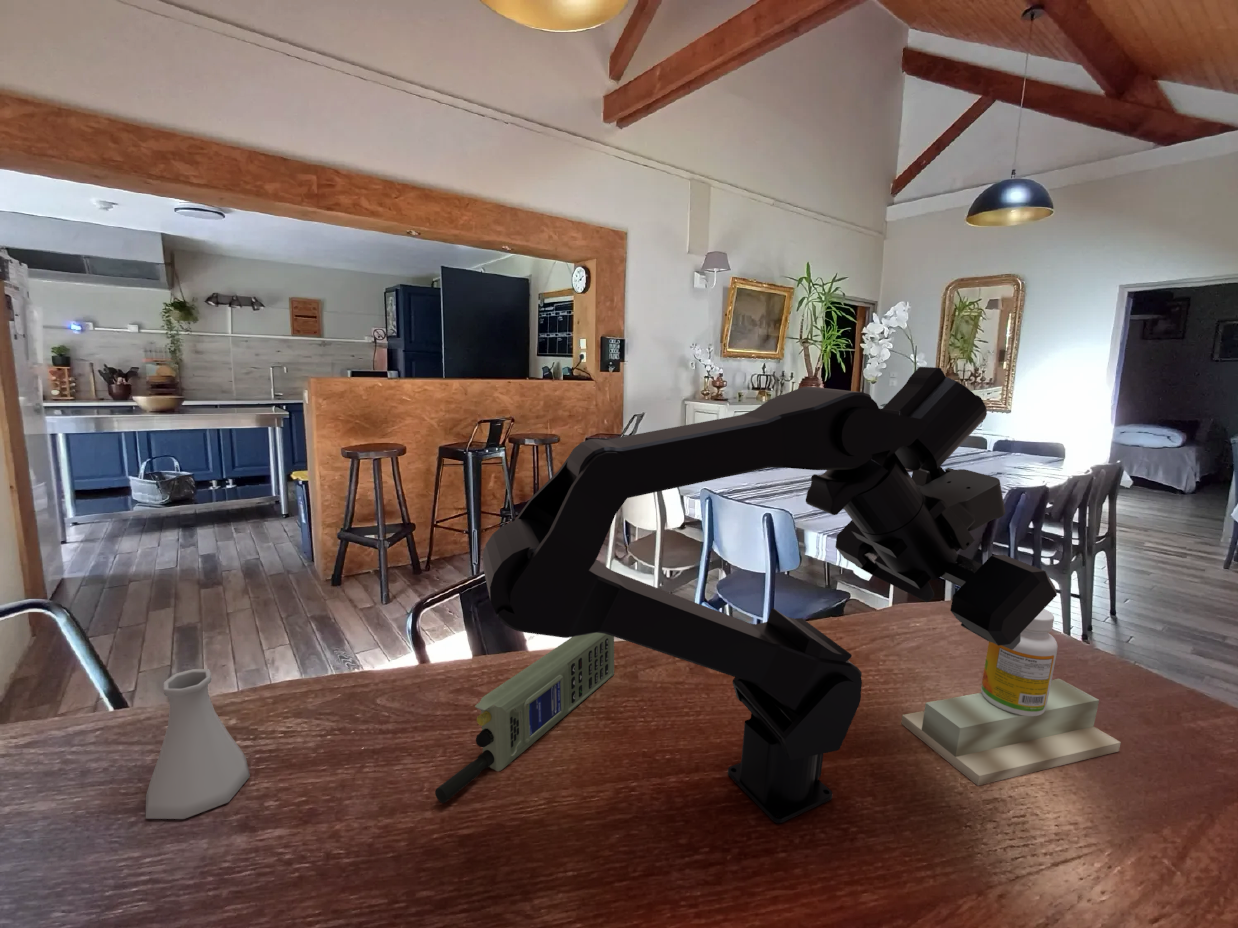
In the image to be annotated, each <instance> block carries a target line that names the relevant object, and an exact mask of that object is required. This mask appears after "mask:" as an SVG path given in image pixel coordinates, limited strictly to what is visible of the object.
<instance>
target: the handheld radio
mask: <svg viewBox="0 0 1238 928" xmlns="http://www.w3.org/2000/svg"><path fill="white" fill-rule="evenodd" d="M614 675H615V637H614V636H611V635H608V634H604V633H592V634H586V635H581V636H575V637H569V639H568V638H567V640H565V641H564V642H563V643H561V644H560V645H558V646H557V647H555V648H553V649H552V650H551V651H549V652H547V653H546V654H545V655H543V656H542V657H541V658H538V659H537V660H535V661H534V662H533V663H531V664H529V666H527V667H525V668H524V669H522V670H521V671H520V672H517V673H516V674H514V675H513V676H512V677H511V678H508V679H507V680H506V681H504V682H503V683H502V684H500V685H498V686H497V687H496V688H494V689H493V690H491V691H490V692H488V693H487V694H485V695H483V696H482V698H481V699H480V701H479V702H478V703H476V705H474V708H475V709H477V710H479V711H480V714H479V715H478V716H477V717H476V723H477V724H478V725H479V726H481V731H480V732H479V733H478V734H477V735H476V737H475V743H476V745H477V746H478V747H480V748H482V752H481V753H480V754H479V755H477V758H476V759H475V760H473V761H471V762H469V763H468V764H467V765H465V766H464V767H463V768H461V769H460V770H459V771H458V772H456V773H455V774H453V776H450V778H448V779H447V780H446V781H445V782H443V783H442V784H441V785H439V786H438V787H437V788H436V789H435V790H434V791H435V797H436V798H437V799H436V800H437V801H439V802H440V803H441V804H445V803H447V802H448V801H449V800H450V799H451V798H453V797H454V796H455V795H457V793H459V792H460V791H461V790H463V789H464V788H465V787H466V786H468V785H469V784H471V782H473V780H474V779H476V778H477V777H478V776H479V775H481V772H482V771H483V770H486V769H488V768H490V769H492V770H494V771H496V772H501V771H502V770H504V769H505V768H506V767H507V766H508V765H510V764H511V763H512V762H513V761H514V760H516V759H517V758H518V757H519V756H520V755H521V754H523V753H524V752H525V751H526V750H527V749H529V748H530V747H531V746H532V745H533V744H534V743H535V742H536V741H537V740H539V739H541V737H542V736H543V735H545V734H546V733H547V732H549V730H551V729H552V728H553V727H554V726H555V725H556V724H558V723H560V721H562V719H564V718H565V717H566V716H567V715H568V714H569V713H571V712H572V711H573V710H575V708H577V706H579V705H580V704H581V703H582V702H584V701H585V699H587V698H588V697H589V696H591V695H592V694H593V693H594V692H596V690H598V689H599V688H600V687H601V686H602V685H603V684H604V683H606V682H607V681H608V680H609V679H610V678H612V677H613V676H614Z"/></svg>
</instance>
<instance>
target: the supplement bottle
mask: <svg viewBox="0 0 1238 928" xmlns="http://www.w3.org/2000/svg"><path fill="white" fill-rule="evenodd" d="M1054 621H1055V616H1054V613H1052V612H1051V611H1049V610H1047V609H1045V608H1044V609H1043V610H1042V611H1041V612H1040V613H1039V614H1038V616H1037V617H1036V618H1035V619H1034V620H1033V621H1032V622H1031V623H1030V624H1029V625H1028V626H1027V627H1026V628H1025V629H1024V630H1023V631H1022V632H1021V640H1020V643H1019V644H1018V645H1017V646H1016V647H1015V648H1014V649H1013V650H1011V649H1008V648H1006V647H1004V646H1002V645H999V646H998V645H996V644H994V643H992V642H989V641H988V645H987V649H986V650H987V651H986V656H985V662H984V668H983V672H982V673H983V674H982V681H981V685H980V691H981V692H980V693H982V694H983V696H984V697H985V698H986V699H987V700H988V701H989V702H990V703H992V704H993V705H995V706H997V707H999V708H1001V709H1003V710H1005V711H1008V712H1011V713H1014V714H1019V715H1024V716H1038V715H1041V714H1043V713H1044V711H1045V710H1046V705H1047V701H1048V696H1049V690H1050V685H1051V680H1053V674H1054V669H1055V663H1056V659H1057V654H1058V647H1059V646H1058V642H1057V641H1056V640H1057V639H1056V638H1055V637H1054V636H1053V635H1052V634H1050V632H1052V630H1053V628H1054Z"/></svg>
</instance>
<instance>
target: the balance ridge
mask: <svg viewBox="0 0 1238 928" xmlns="http://www.w3.org/2000/svg"><path fill="white" fill-rule="evenodd" d="M1099 702H1100V699H1098V698H1096V697H1094V696H1093V695H1091V694H1089V693H1087V692H1085V691H1084V690H1082V689H1080V688H1077V687H1076V686H1074V685H1072V684H1070V683H1068V682H1067V681H1065V680H1063V679H1061V678H1055V679H1052V680H1051V685H1050V690H1049V696H1048V701H1047V705H1046V710H1045V711H1044V713H1043V714H1041V715H1038V716H1024V715H1019V714H1014V713H1011V712H1008V711H1005V710H1003V709H1001V708H999V707H997V706H995V705H993V704H992V703H990V702H989V701H988V700H987V699H986V698H985V697H984V696H983V694H982V692H977V693H973V694H966V695H960V696H956V697H950V698H944V699H943V698H942V699H938V700H933V701H927V702H925V704H924V705H925V706H924V710H921V711H916V712H911V713H906V714H901V715H902V716H901V721H900V722H901V725H902V726H903V727H905V728H906V729H907V730H908V731H910V732H911V733H912V734H913V735H915V736H916V738H918V739H920V740H921V741H922V742H923V743H924V744H926V745H927V746H928V747H930V748H931V749H932V750H933V751H934V752H936V754H938V755H939V756H940V757H941V758H943V759H944V760H945V761H947V762H948V763H949V764H950V765H951V766H952V767H954V768H955V769H956V770H957V771H959V772H960V773H961V774H962V775H964V776H965V777H966V778H968V779H969V780H970V781H971V782H973V784H975V785H976V786H977V787H978V786H982V785H987V784H989V783H994V782H999V781H1002V780H1006V779H1007V780H1008V779H1011V778H1015V777H1019V776H1024V775H1027V774H1031V773H1035V772H1039V771H1044V770H1048V769H1052V768H1057V767H1060V766H1064V765H1068V764H1073V763H1077V762H1081V761H1085V760H1089V759H1094V758H1098V757H1101V756H1106V755H1109V754H1113V753H1119V752H1120V747H1121V741H1120V740H1118V739H1116V738H1115V737H1113V736H1110V734H1108V733H1106V732H1103V731H1102V730H1100V729H1099V728H1098V727H1095V726H1094V725H1095V721H1096V717H1097V711H1098V707H1099Z"/></svg>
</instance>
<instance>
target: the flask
mask: <svg viewBox="0 0 1238 928" xmlns="http://www.w3.org/2000/svg"><path fill="white" fill-rule="evenodd" d="M211 682H212V674H211V669H209V668H207V669H206V668H192V669H189V670H184V671H180V672H177V673H173V675H171V676H170V677H168V678H167V679H166V680H164V681H163V682H162V691H163V693H162V694H163V696H165V697H168V702H169V703H168V705H169V711H168V712H169V713H168V722H167V728H166V731H165V735H164V738H163V741H162V745H161V748H160V752H159V755H158V757H157V761H156V764H155V767H154V770H153V773H152V775H151V778H150V782H149V784H148V788H147V791H146V795H145V819H152V820H153V819H154V820H155V819H158V820H159V819H160V820H161V819H162V820H167V819H168V820H174V819H175V820H185V819H188V818H190V817H193V816H196V815H198V814H200V813H201V814H202V813H204V812H206V811H210V810H212V809H215V808H217V807H219V806H222V805H224V804H227V803H229V802H230V801H231V800H232V799H233V797H235V795H236V794H237V792H238V791H240V789H241V788H242V786H243V785H244V784H245V783H246V782H247V780H248V779H249V778H251V777H250V776H251V775H250V769H249V765H248V762H247V760H248V759H247V757H246V755H245V754H244V753H243V750H242V749H241V748H240V746H239V745H238V744H237V743H236V741H235V739H234V738H233V737H232V736H231V734H230V733H229V730H228V729H227V728H226V726H225V725H224V723H223V722H222V720H221V719H220V717H219V715H218V713H217V712H216V710H215V708H214V705H213V702H212V700H211V697H210V694H209V685H210V683H211Z"/></svg>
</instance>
